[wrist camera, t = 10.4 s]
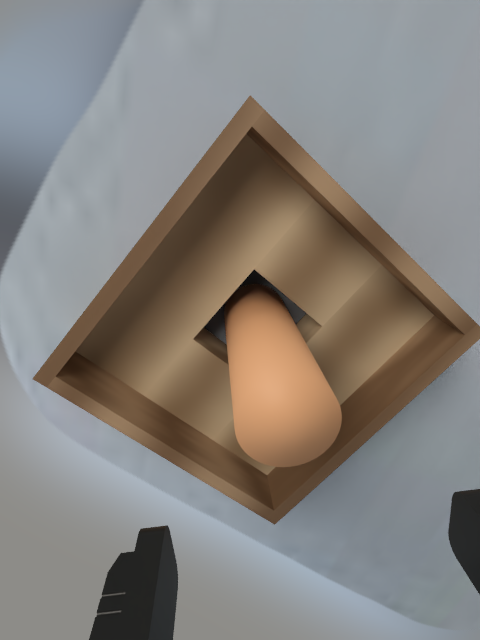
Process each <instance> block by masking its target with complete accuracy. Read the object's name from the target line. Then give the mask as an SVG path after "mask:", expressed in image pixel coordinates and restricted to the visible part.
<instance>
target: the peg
mask: <svg viewBox="0 0 480 640" xmlns="http://www.w3.org/2000/svg"><path fill="white" fill-rule="evenodd" d="M224 320H225V331H226V342H227V353H228V363H229V374H230V385H231V396H232V407H233V418H234V429H235V435H236V438H237V441H238V443H239V445H240V446H241V448H242V449H243V450H244V452H245V453H246V454H247V455H249V456H250V457H251V458H253V459H254V460H256V461H258V462H260V463H262V464H265V465H269V466H274V467H292V466H298V465H301V464H305V463H307V462H310V461H312V460H314V459H316V458H317V457H319V456H320V455H322V454H323V453H324V452H325V451H326V450H327V449H328V448H329V447H330V446H331V445H332V444H333V442H334V441H335V439H336V437H337V436H338V433H339V431H340V427H341V421H342V412H341V408H340V405H339V402H338V400H337V398H336V396H335V395H334V393H333V391H332V389H331V387H330V386H329V384H328V382H327V380H326V378H325V377H324V375H323V373H322V371H321V369H320V367H319V366H318V364H317V362H316V360H315V358H314V357H313V355H312V353H311V351H310V349H309V348H308V346H307V344H306V342H305V340H304V339H303V337H302V335H301V333H300V331H299V330H298V328H297V326H296V324H295V322H294V321H293V319H292V317H291V315H290V313H289V312H288V310H287V308H286V306H285V304H284V303H283V301H282V299H281V297H280V296H279V294H278V293H277V292H276V291H275V290H273V289H272V288H270V287H268V286H265V285H261V284H250V285H246V286H243V287H241V288H239V289H237V290H236V291H235V292H234V293H233V294H232V295H231V296H230V297H229V299H228V300H227V302H226V305H225V309H224Z"/></svg>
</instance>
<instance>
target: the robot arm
mask: <svg viewBox="0 0 480 640" xmlns="http://www.w3.org/2000/svg"><path fill="white" fill-rule="evenodd" d="M449 540H450V544H451V547H452V550H453V552H454V554H455V556H456V558H457V560H458V561H459V563H460V564H461V566H462V568H463V569H464V571H465V572H466V574H467V575H468V577H469V579H470V580H471V582H472V583H473V585H474V586H475V588H476V590H477V591H478V593H479V594H480V489H476V490H468V491H459V492H455V493H454V494H453V497H452V505H451V514H450V523H449ZM177 590H178V571H177V564H176V559H175V554H174V549H173V544H172V539H171V535H170V530H169V527H168V526H160V527H151V528H143V529H141V530H140V531H139V534H138V538H137V543H136V547H135V551H134V552H126V553H121V554H120V555H119V557H118V558H117V560H116V561H115V563H114V564H113V566H112V567H111V569H110V570H109V572H108V574H107V578H106V581H105V585H104V589H103V592H102V598H101V599H100V603H99V606H98V610H97V617H95V621H94V624H93V628H92V631H91V635H90V638H89V640H173V632H174V621H175V612H176V600H177Z"/></svg>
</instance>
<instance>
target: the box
mask: <svg viewBox="0 0 480 640" xmlns="http://www.w3.org/2000/svg"><path fill="white" fill-rule="evenodd" d="M254 269H255V270H256V271H257V272H258V273H259V274H261V275H262V276H263V277H264V278H265V279H267V280H268V281H269V282H270V283H271V284H272V285H274V286H275V287H276V288H277V289H278V290H280V291H281V292H282V293H283V294H284V295H286V296H287V297H288V298H289V299H290V300H291V301H293V302H294V303H295V304H296V305H297V306H299V307H300V308H301V309H302V310H303V311H305V312H306V314H305V316H304V317H303V318H302V319H301V320H300V321H299V322H298V323H297V324H296V326H297V328H298V330H299V331H300V333H301V335H302V337H303V339H304V340H305V342H306V344H307V346H308V348H309V349H310V351H311V353H312V355H313V357H314V358H315V360H316V362H317V364H318V366H319V367H320V369H321V371H322V373H323V375H324V377H325V378H326V380H327V382H328V384H329V386H330V387H331V389H332V391H333V393H334V395H335V396H336V398H337V400H338V402H339V405H340V408H341V412H342V421H341V427H340V431H339V433H338V436H337V437H336V439H335V441H334V442H333V444H332V445H331V446H330V447H329V448H328V449H327V450H326V451H325V452H324V453H323V454H322V455H320V456H319V457H317V458H316V459H314V460H312V461H310V462H307V463H305V464H301V465H298V466H292V467H274V466H269V465H265V464H262V463H260V462H258V461H256V460H254V459H253V458H251V457H250V456H249V455H247V454H246V453H245V452H244V450H243V449H242V448H241V446H240V445H239V443H238V441H237V438H236V435H235V429H234V418H233V407H232V396H231V385H230V374H229V363H228V353H227V345H226V344H225V343H224V342H222V341H221V340H220V339H218V338H217V337H216V336H214V335H213V334H212V333H210V332H209V331H208V330H206V329H205V328H204V326H205V325H206V324H207V323H208V321H209V320H210V319H211V318H212V317H213V316H214V315H215V313H216V312H217V311H218V310H219V309H220V308H221V306H222V305H223V304H224V303H225V302H226V301H227V300H228V298H229V297H230V296H231V295H232V294H233V293H234V292H235V290H236V289H237V288H238V287H239V286H240V285H241V284H242V282H243V281H244V280H245V279H246V278H247V277H248V276H249V274H250V273H251V272H252V271H253V270H254ZM479 339H480V326H479V325H478V324H477V323H476V322H475V321H474V320H473V319H472V318H471V317H470V316H469V315H468V314H467V313H466V312H465V311H464V310H463V309H462V308H461V307H460V306H459V305H458V304H457V303H456V302H455V301H454V300H453V299H452V298H451V297H450V296H449V295H448V294H447V293H446V292H445V291H444V290H443V289H442V288H441V287H440V286H439V285H438V284H437V283H436V282H435V281H434V280H433V279H432V278H431V277H430V276H429V275H428V274H427V273H426V272H425V271H424V270H423V269H422V268H421V267H420V266H419V265H418V264H417V263H416V262H415V261H414V260H413V259H412V258H411V257H410V256H409V255H408V254H407V253H406V252H405V251H404V250H403V249H402V248H401V247H400V246H399V245H398V244H397V243H396V242H395V241H394V240H393V239H392V238H391V237H390V236H389V235H388V234H387V233H386V232H385V231H384V230H383V229H382V228H381V227H380V226H379V225H378V224H377V223H376V222H375V221H374V220H373V219H372V218H371V217H370V216H369V215H368V214H367V213H366V212H365V211H364V210H363V208H362V207H361V206H360V205H359V204H358V203H357V202H356V201H355V200H354V199H353V198H352V197H351V196H350V195H349V194H348V193H347V192H346V191H345V190H344V189H343V188H342V187H341V186H340V185H339V184H338V183H337V182H336V181H335V180H334V179H333V178H332V177H331V176H330V175H329V174H328V173H327V172H326V171H325V170H324V169H323V168H322V167H321V166H320V165H319V164H318V163H317V162H316V161H315V160H314V159H313V158H312V157H311V156H310V155H309V154H308V153H307V152H306V151H305V150H304V149H303V148H302V147H301V146H300V145H299V144H298V143H297V142H296V141H295V140H294V139H293V138H292V137H291V136H290V135H289V134H288V133H287V132H286V131H285V130H284V129H283V128H282V127H281V126H280V125H279V124H278V123H277V122H276V121H275V120H274V119H273V118H272V117H271V116H270V115H269V114H268V113H267V112H266V111H265V110H264V109H263V108H262V107H261V106H260V105H259V104H258V103H257V102H256V101H255V100H254V99H253V98H252V97H251V96H249V98H248V99H247V100H246V101H245V103H244V104H243V105H242V107H241V108H240V109H239V111H238V112H237V113H236V114H235V116H234V117H233V118H232V120H231V121H230V122H229V124H228V125H227V126H226V127H225V129H224V130H223V131H222V133H221V134H220V135H219V137H218V138H217V139H216V141H215V142H214V143H213V144H212V146H211V147H210V148H209V150H208V151H207V152H206V154H205V155H204V156H203V157H202V159H201V160H200V161H199V163H198V164H197V165H196V167H195V168H194V169H193V170H192V172H191V173H190V174H189V176H188V177H187V178H186V180H185V181H184V182H183V183H182V185H181V186H180V187H179V189H178V190H177V191H176V193H175V194H174V195H173V197H172V198H171V199H170V200H169V202H168V203H167V204H166V206H165V207H164V208H163V210H162V211H161V212H160V213H159V215H158V216H157V217H156V219H155V220H154V221H153V223H152V224H151V225H150V226H149V228H148V229H147V230H146V232H145V233H144V234H143V236H142V237H141V238H140V240H139V241H138V242H137V243H136V245H135V246H134V247H133V249H132V250H131V251H130V253H129V254H128V255H127V256H126V258H125V259H124V260H123V262H122V263H121V264H120V266H119V267H118V268H117V269H116V271H115V272H114V273H113V275H112V276H111V277H110V279H109V280H108V281H107V282H106V284H105V285H104V286H103V288H102V289H101V290H100V292H99V293H98V294H97V296H96V297H95V298H94V299H93V301H92V302H91V303H90V305H89V306H88V307H87V309H86V310H85V311H84V312H83V314H82V315H81V316H80V318H79V319H78V320H77V322H76V323H75V324H74V325H73V327H72V328H71V329H70V331H69V332H68V333H67V335H66V336H65V337H64V338H63V340H62V341H61V342H60V344H59V345H58V346H57V348H56V349H55V350H54V352H53V353H52V354H51V355H50V357H49V358H48V359H47V361H46V362H45V363H44V365H43V366H42V367H41V368H40V370H39V371H38V372H37V374H36V375H35V376H34V378H33V379H34V380H35V381H37V382H39V383H40V384H42V385H44V386H45V387H47V388H49V389H50V390H52V391H54V392H55V393H57V394H59V395H60V396H62V397H64V398H65V399H67V400H69V401H70V402H72V403H74V404H75V405H77V406H79V407H80V408H82V409H84V410H85V411H87V412H88V413H90V414H92V415H93V416H95V417H97V418H98V419H100V420H102V421H103V422H105V423H107V424H108V425H110V426H112V427H113V428H115V429H117V430H118V431H120V432H122V433H123V434H125V435H127V436H128V437H130V438H132V439H133V440H135V441H137V442H138V443H140V444H142V445H143V446H145V447H147V448H148V449H150V450H152V451H153V452H155V453H157V454H158V455H160V456H162V457H163V458H165V459H167V460H168V461H170V462H172V463H173V464H175V465H177V466H178V467H180V468H182V469H183V470H185V471H187V472H188V473H190V474H192V475H193V476H195V477H197V478H198V479H200V480H202V481H203V482H205V483H207V484H208V485H210V486H211V487H213V488H215V489H216V490H218V491H220V492H221V493H223V494H225V495H226V496H228V497H230V498H231V499H233V500H235V501H236V502H238V503H240V504H241V505H243V506H245V507H246V508H248V509H250V510H251V511H253V512H255V513H256V514H258V515H260V516H261V517H263V518H265V519H266V520H268V521H270V522H271V523H273V524H276V523H277V522H278V521H279V520H280V519H281V518H282V517H284V516H285V515H286V514H287V513H288V512H289V511H290V510H291V509H292V508H293V507H295V506H296V505H297V504H298V503H299V502H300V501H301V500H302V499H303V498H304V497H306V496H307V495H308V494H309V493H310V492H311V491H312V490H313V489H314V488H316V487H317V486H318V485H319V484H320V483H321V482H322V481H323V480H324V479H325V478H327V477H328V476H329V475H330V474H331V473H332V472H333V471H334V470H335V469H337V468H338V467H339V466H340V465H341V464H342V463H343V462H344V461H345V460H346V459H348V458H349V457H350V456H351V455H352V454H353V453H354V452H355V451H356V450H357V449H359V448H360V447H361V446H362V445H363V444H364V443H365V442H366V441H367V440H369V439H370V438H371V437H372V436H373V435H374V434H375V433H376V432H377V431H378V430H380V429H381V428H382V427H383V426H384V425H385V424H386V423H387V422H388V421H389V420H391V419H392V418H393V417H394V416H395V415H396V414H397V413H398V412H399V411H401V410H402V409H403V408H404V407H405V406H406V405H407V404H408V403H409V402H410V401H412V400H413V399H414V398H415V397H416V396H417V395H418V394H419V393H420V392H421V391H423V390H424V389H425V388H426V387H427V386H428V385H429V384H430V383H431V382H433V381H434V380H435V379H436V378H437V377H438V376H439V375H440V374H441V373H442V372H444V371H445V370H446V369H447V368H448V367H449V366H450V365H451V364H452V363H453V362H455V361H456V360H457V359H458V358H459V357H460V356H461V355H462V354H463V353H465V352H466V351H467V350H468V349H469V348H470V347H471V346H472V345H473V344H474V343H476V342H477V341H478V340H479Z"/></svg>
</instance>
